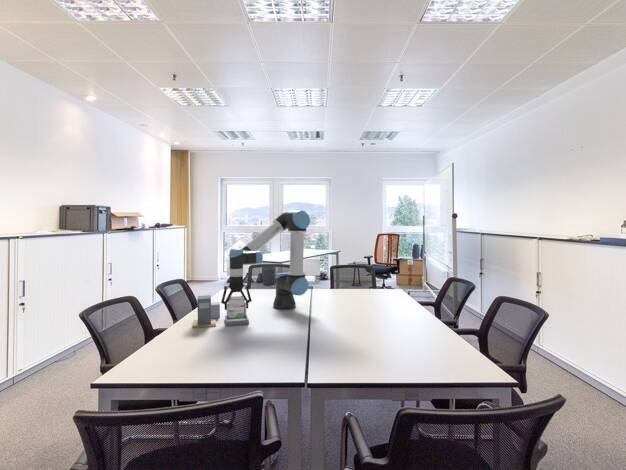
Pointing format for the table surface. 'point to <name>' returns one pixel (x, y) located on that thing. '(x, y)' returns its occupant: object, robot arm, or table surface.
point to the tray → (236, 321)
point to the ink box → (236, 307)
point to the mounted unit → (204, 313)
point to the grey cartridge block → (215, 310)
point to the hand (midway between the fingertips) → (236, 314)
